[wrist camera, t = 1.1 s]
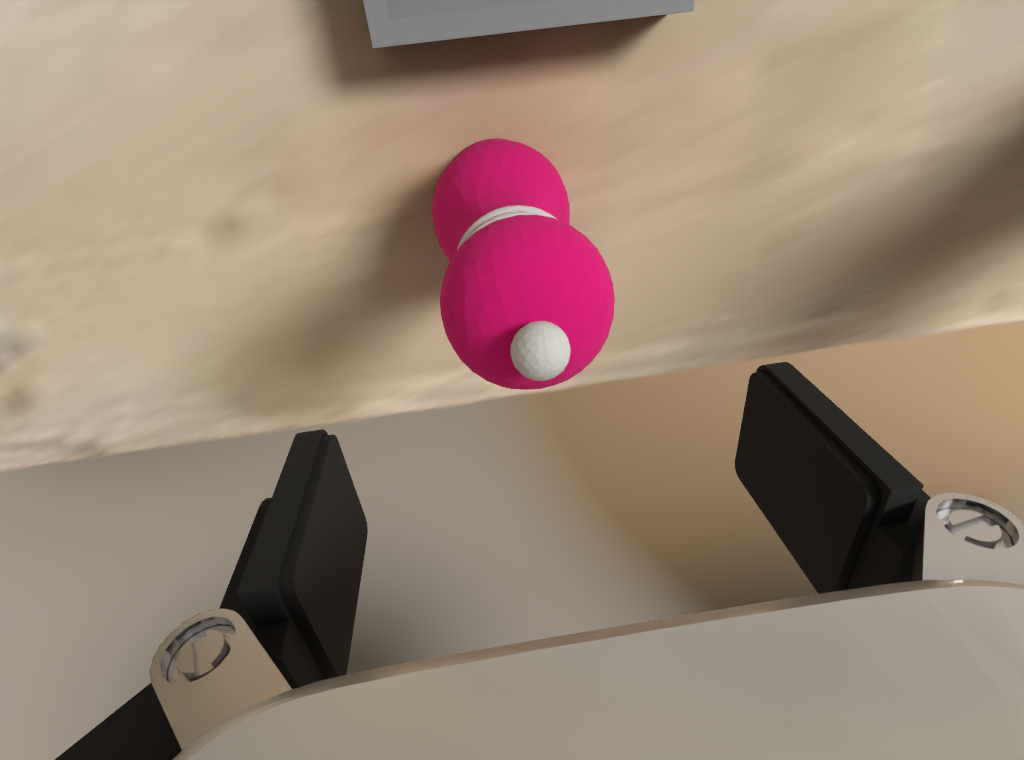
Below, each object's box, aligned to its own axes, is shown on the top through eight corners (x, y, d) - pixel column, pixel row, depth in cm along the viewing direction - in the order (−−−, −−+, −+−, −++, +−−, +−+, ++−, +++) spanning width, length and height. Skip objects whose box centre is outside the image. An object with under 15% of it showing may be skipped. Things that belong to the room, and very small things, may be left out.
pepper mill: (561, 241, 34) (671, 439, 17) (449, 263, 34) (448, 482, 17) (546, 117, 30) (671, 214, 13) (420, 142, 30) (381, 271, 13)
